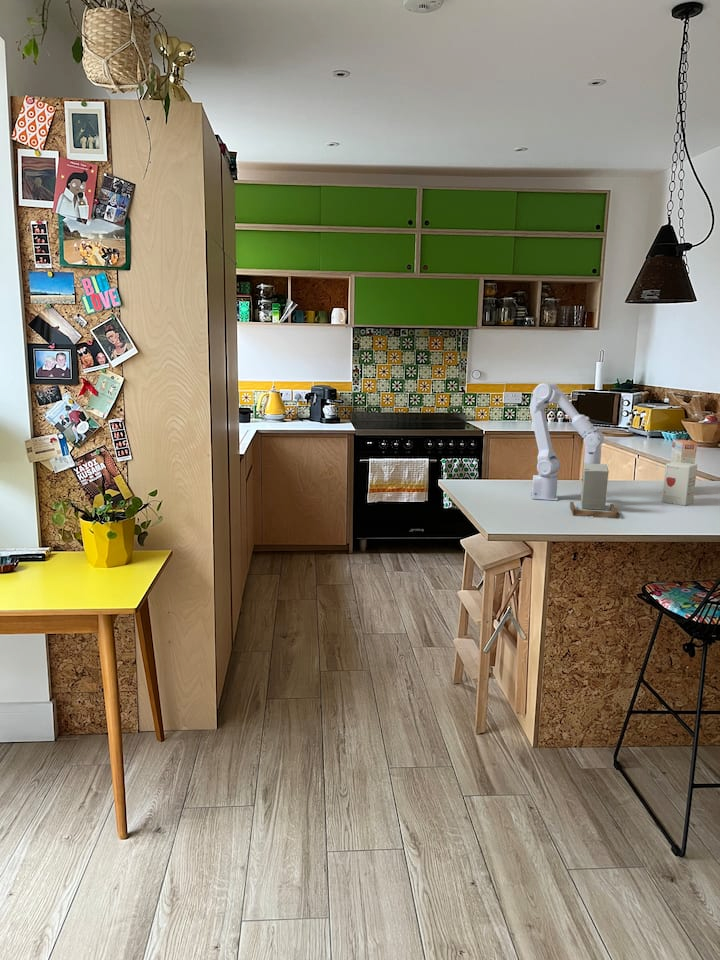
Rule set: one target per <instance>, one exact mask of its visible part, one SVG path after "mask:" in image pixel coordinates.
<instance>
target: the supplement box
mask: <svg viewBox="0 0 720 960" xmlns="http://www.w3.org/2000/svg"><path fill="white" fill-rule="evenodd" d="M697 471H698V464H696V463H695V464H689V463H681V462H671V461H670V462H667V463H666V464H665V471H664V481H663V487H662V489H663V490H662V497H661V503H667V504H672V503H673V505H678V504H680V506H684V505H686V506H688V505H690V504H692V502H693V503H694V496H695V489H696V487H695V486H696V479H697Z"/></svg>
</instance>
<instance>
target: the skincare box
mask: <svg viewBox="0 0 720 960" xmlns="http://www.w3.org/2000/svg"><path fill="white" fill-rule="evenodd" d="M582 470H583V471H582V476H583V477H582V479H583V480H581V493H580V494H581V495H580V505H581V510H601V511H603V510H604V511H606V510H605V509H606V501H607V491H608V481H609V480H608V479H609V471H610V470H609V468H608V465H607V463H600V464H585V463H584V462H583V468H582Z"/></svg>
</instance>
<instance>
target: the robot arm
mask: <svg viewBox="0 0 720 960" xmlns="http://www.w3.org/2000/svg"><path fill="white" fill-rule="evenodd" d="M563 391H564V390H562V389H561V388H560V387H558V385H557V384H556V383H554V382H548V383H539V384H538V385H536V387H535V388H534V389H533V391H532V396H531V400H530V404H529V413H530V416H531V421H532V426H533V431H534V437H535V441H536V445H537V449H538V455H537V457H536V458H537V465H536V470H537V472H538V474H533V475H532V484H531V485H532V486H531V489H530V490H531V492H530V493H531V499H532V500H547V501H559V499H558V496H557V491H558V479H559V475H558V472H559V470H560V469H561V466H562V465H561V460H559V459H558V457H557V454H556V452H555V450H554V449H553V445H552V440H551V435H550V431H549V430H550V429H549V426H548V425H549V424H548V420H547V416H546V411H545V409H546V408H547V406H548V405H549V404H550V403H553V404H557V406H559V408H561V410H562V411H563V412H564V413H565V414H566V415H567V416H568V417H569V418H570V419H571V426H572V427H573V429H574V430H575V431H576V432H577V433H578V435H580V437H581V439H582V438H583V444H584V445H585V450H584V457H583V458H584V459H583V460H584V461H583V464H584V463H585V464H601V459H602V445H603V443H604V441H605V437H604V434H603V432H602V431H601V430H599V429H598V428H597V426H596V427H595V426H594V425H593V424H592V422H591V421H590V417H589V416H586V415H585V414H580V413H579V411H577V409H576V408H575V407H574V405H573V404H572V402H571V401H570V400H569V398H568V397H567V395H566V394H565V393H564V392H563ZM582 480H583V475H582V478H581V481H582Z"/></svg>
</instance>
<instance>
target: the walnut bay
mask: <svg viewBox="0 0 720 960" xmlns="http://www.w3.org/2000/svg"><path fill="white" fill-rule="evenodd" d="M569 509H570V511H571V514H572V516H573V517H586V516H593V517H592V518H602V517H608V518H607V519H618V518H620V512H619V510H618V509H617V508H616V506H615V505H614V504H612V503H610V505H609V510H610V511H606V510H604V511H603V510H592V509H577V507H576V505H575V504H574V502H573V501H570V502H569Z"/></svg>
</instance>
